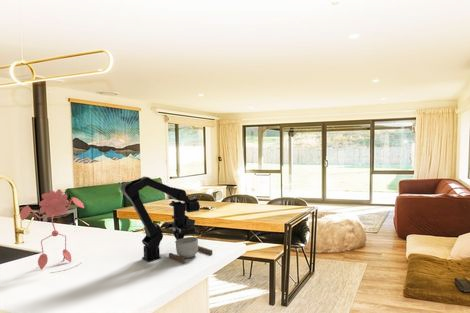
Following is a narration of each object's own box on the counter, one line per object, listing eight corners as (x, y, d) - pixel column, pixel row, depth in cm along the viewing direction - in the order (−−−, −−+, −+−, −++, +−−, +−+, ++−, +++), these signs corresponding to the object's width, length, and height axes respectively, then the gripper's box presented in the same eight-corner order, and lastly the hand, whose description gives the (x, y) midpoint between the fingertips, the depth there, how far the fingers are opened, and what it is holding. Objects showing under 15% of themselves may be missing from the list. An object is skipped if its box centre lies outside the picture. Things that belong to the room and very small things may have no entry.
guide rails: (183, 263, 155) (183, 259, 155) (168, 257, 164) (168, 253, 164) (212, 254, 167) (212, 250, 167) (197, 249, 176) (197, 245, 176)
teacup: (187, 261, 158) (186, 244, 158) (171, 257, 164) (170, 240, 164) (207, 253, 169) (206, 237, 169) (191, 249, 176) (191, 233, 175)
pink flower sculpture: (20, 269, 152) (17, 191, 150) (81, 256, 170) (78, 185, 168) (28, 280, 141) (24, 195, 139) (92, 264, 158) (90, 188, 156)
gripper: (203, 213, 170) (204, 245, 171) (181, 208, 183) (182, 237, 184) (185, 217, 162) (186, 250, 163) (163, 212, 176) (164, 242, 177)
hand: (180, 244), depth 172 cm, fingers closed
